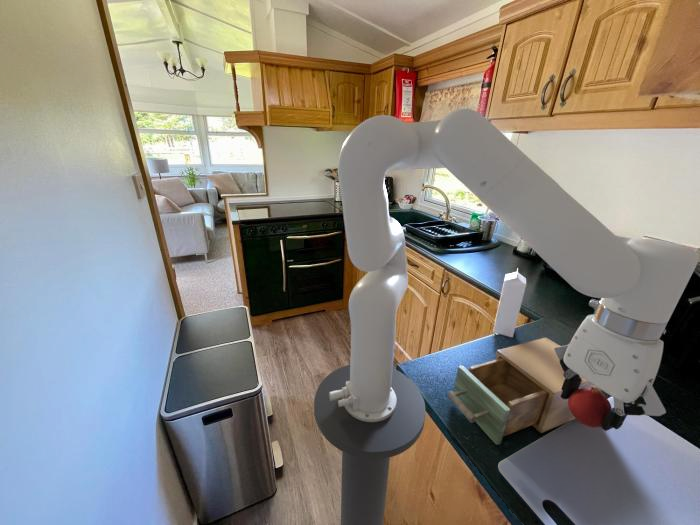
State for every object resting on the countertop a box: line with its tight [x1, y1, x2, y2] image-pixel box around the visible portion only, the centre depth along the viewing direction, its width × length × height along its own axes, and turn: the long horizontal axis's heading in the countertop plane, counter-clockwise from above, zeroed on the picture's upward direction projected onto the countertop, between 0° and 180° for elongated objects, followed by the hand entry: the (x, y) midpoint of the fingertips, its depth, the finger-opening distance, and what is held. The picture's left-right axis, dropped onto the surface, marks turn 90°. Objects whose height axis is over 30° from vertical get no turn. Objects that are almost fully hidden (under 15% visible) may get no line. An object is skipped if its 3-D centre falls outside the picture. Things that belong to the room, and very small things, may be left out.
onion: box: [568, 386, 613, 428], centre depth 49 cm, size 6×6×8 cm
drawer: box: [446, 358, 549, 446], centre depth 63 cm, size 20×13×9 cm, turn 111°
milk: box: [492, 267, 527, 338], centre depth 93 cm, size 6×6×22 cm
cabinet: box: [494, 337, 602, 434], centre depth 68 cm, size 17×14×11 cm
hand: (587, 410), depth 50 cm, fingers closed on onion, 5 cm apart
